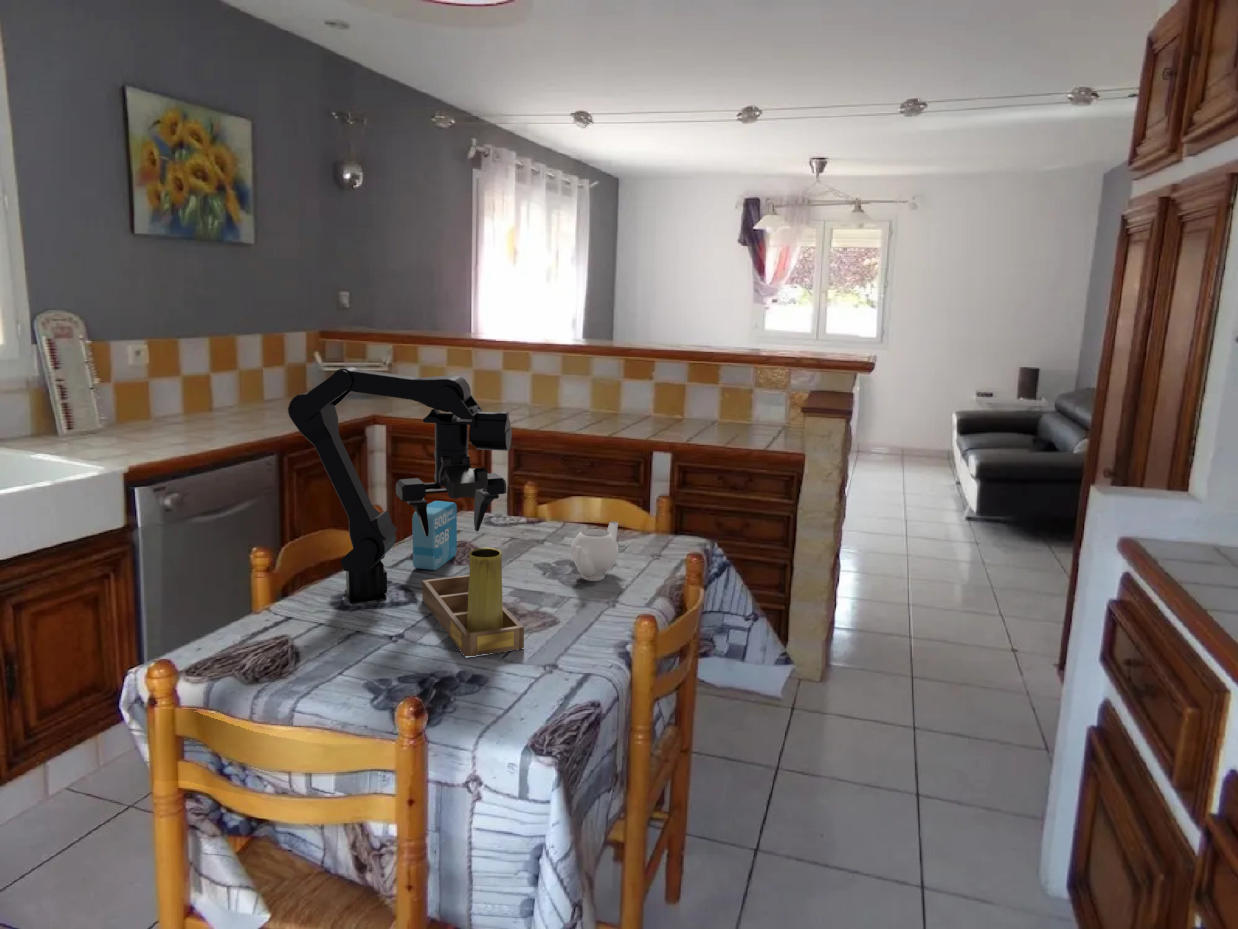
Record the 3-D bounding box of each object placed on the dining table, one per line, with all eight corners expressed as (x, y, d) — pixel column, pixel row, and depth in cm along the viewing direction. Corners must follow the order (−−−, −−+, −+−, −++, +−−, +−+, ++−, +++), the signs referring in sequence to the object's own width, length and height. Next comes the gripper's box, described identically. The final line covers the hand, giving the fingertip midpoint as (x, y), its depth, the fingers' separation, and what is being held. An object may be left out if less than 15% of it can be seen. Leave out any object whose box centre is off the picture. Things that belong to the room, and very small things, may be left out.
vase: (495, 626, 145) (495, 545, 142) (509, 639, 140) (510, 555, 137) (460, 632, 142) (460, 549, 139) (474, 646, 137) (474, 560, 134)
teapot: (549, 588, 167) (550, 541, 165) (593, 559, 185) (595, 518, 183) (593, 596, 163) (595, 549, 161) (634, 567, 181) (636, 524, 179)
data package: (433, 572, 173) (432, 514, 171) (412, 570, 174) (411, 512, 172) (457, 555, 185) (457, 500, 182) (437, 553, 186) (437, 498, 183)
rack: (464, 659, 134) (464, 636, 134) (421, 600, 158) (421, 580, 158) (524, 649, 139) (524, 627, 138) (473, 593, 163) (473, 574, 162)
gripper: (409, 460, 141) (410, 551, 144) (517, 453, 150) (516, 540, 153) (394, 447, 151) (395, 533, 154) (496, 442, 159) (496, 524, 162)
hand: (451, 533), depth 156 cm, fingers open, 9 cm apart
